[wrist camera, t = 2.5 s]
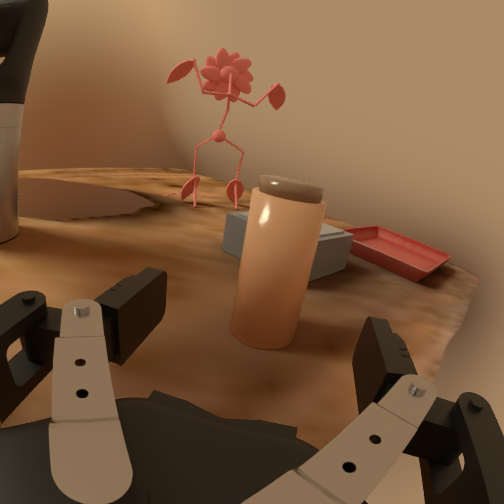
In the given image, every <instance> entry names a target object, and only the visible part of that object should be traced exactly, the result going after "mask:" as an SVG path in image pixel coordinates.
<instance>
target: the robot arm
mask: <svg viewBox="0 0 504 504" xmlns="http://www.w3.org/2000/svg"><path fill="white" fill-rule="evenodd" d="M47 13H48V0H0V57H5V59H4V61H3V62H2V63H1V64H0V243H1V242H4V241H7V240H9V239H11V238H13V237H15V236H16V235H17V234H18V232H19V222H18V165H19V147H20V136H21V125H22V115H23V109H24V105H23V104H24V101H25V95H26V90H27V87H28V82H29V79H30V74H31V69H32V65H33V61H34V57H35V54H36V50H37V47H38V44H39V41H40V38H41V35H42V32H43V28H44V26H45V22H46V17H47ZM166 288H167V274H166V272H165V271H161V270H157V269H153V268H149V267H148V268H146V269H145V270H143V271H142V272H141V273H139V274H138V275H136V276H131V277H128V278H125V279H123V280H121V281H120V282H118V283H117V284H116V285H114V286H113V287H111V288H110V289H109V290H107V291H106V292H104V293H103V294H102V295H100V296H99V297H97V298H96V299H95V300H89V299H76V300H72V301H70V302H68V303H66V304H65V305H64V306H63V309H58V308H52V307H47V304H46V297H45V295H44V294H42V293H41V292H38V291H25V292H21V293H18V294H17V295H15V296H13V297H12V298H10V299H9V300H7V301H6V302H4V303H3V304H1V305H0V504H368V503H367V502H366V501H365V499H366V498H367V496H368V495H369V494H370V493H371V491H373V489H374V488H375V487H376V486H377V484H378V483H379V482H380V481H381V479H382V478H383V477H384V476H385V474H386V473H387V472H388V471H389V469H390V468H391V467H392V465H393V464H394V463H395V461H396V460H397V459H398V457H399V456H400V454H401V453H405V454H409V455H412V456H416V457H419V462H420V467H421V475H422V482H423V490H424V499H425V504H504V436H503V433H502V431H501V429H500V427H499V424H498V422H497V419H496V417H495V415H494V413H493V411H492V408H491V406H490V404H489V403H488V402H487V401H486V400H485V399H484V398H483V397H481V396H480V395H478V394H475V393H471V392H465V393H462V394H461V395H460V396H459V398H458V399H457V401H456V403H454V402H451V401H448V400H445V399H442V398H439V397H437V390H436V388H435V386H434V385H433V384H432V383H431V382H430V381H429V380H427V379H426V378H424V377H421V376H418V374H417V371H416V369H415V366H414V364H413V361H412V359H411V358H410V354H409V352H408V351H407V350H408V349H407V347H406V345H405V342H404V341H403V340H402V339H401V338H400V337H399V336H398V335H397V334H396V333H392V331H391V328H390V326H389V323H388V321H387V320H386V319H381V318H376V317H370V316H369V317H368V318H367V319H366V321H365V324H364V327H363V329H362V332H361V335H360V337H359V340H358V343H357V345H356V348H355V351H354V355H353V361H352V366H353V373H354V380H355V387H356V395H357V403H358V412H359V416H358V417H357V418H356V419H355V420H354V421H353V422H351V423H350V424H349V425H348V426H347V427H346V428H345V429H344V430H343V431H342V432H341V433H340V434H338V435H337V436H336V437H335V438H334V439H333V440H332V441H331V442H329V443H328V444H327V445H326V446H325V447H324V448H322V449H321V450H318V449H317V448H315V447H314V446H312V445H310V444H309V443H307V442H305V441H303V440H300V439H298V438H296V434H297V427H293V426H287V425H282V424H277V423H272V422H267V421H262V420H241V419H225V418H220V417H217V416H215V415H213V414H211V413H209V412H207V411H205V410H203V409H201V408H199V407H198V406H196V405H194V404H192V403H190V402H188V401H186V400H182V399H179V398H176V397H173V396H170V395H167V394H164V393H161V392H158V391H155V390H154V391H153V392H152V394H151V395H150V397H149V398H148V399H146V398H121V399H116V400H115V398H114V392H113V387H112V382H111V376H110V370H109V364H108V363H109V362H110V361H111V362H114V363H116V364H119V365H121V366H122V365H123V364H124V362H125V361H126V360H127V359H128V358H129V357H130V355H131V354H132V353H133V352H134V351H135V350H136V349H137V347H138V346H139V345H140V344H141V343H142V342H143V341H144V339H145V338H146V337H147V336H148V335H149V334H150V333H151V331H152V330H153V329H154V328H155V327H156V326H157V325H158V324H159V322H160V321H161V320H162V318H163V316H164V313H165V308H166ZM19 337H20V341H21V345H22V350H21V351H20V352H18V353H17V354H16V355H15V356H14V357H13V358H12V359H11V360H9V361H7V357H6V354H7V350H8V347H9V346H10V345H11V344H12V343H13V342H14V341H16V340H17V339H18V338H19ZM52 369H53V375H52V417H51V418H47V419H43V420H39V421H34V422H30V423H26V424H21V425H17V426H12V427H7V428H2V429H1V424H2V423H3V422H4V421H5V420H6V419H7V417H8V416H9V415H10V414H11V413H12V412H13V411H14V410H15V409H16V407H17V406H18V405H19V404H20V403H21V402H22V401H23V400H24V399H25V398H26V397H27V396H28V394H29V393H30V392H31V391H32V390H33V389H34V388H35V387H36V386H37V385H38V384H39V383H40V382H41V381H42V380H43V379H44V378H45V377H46V375H47V374H48V373H49V372H50V371H51V370H52ZM461 453H463V456H464V461H465V464H464V469H463V471H462V469H461V465H460V461H459V455H460V454H461Z"/></svg>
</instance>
